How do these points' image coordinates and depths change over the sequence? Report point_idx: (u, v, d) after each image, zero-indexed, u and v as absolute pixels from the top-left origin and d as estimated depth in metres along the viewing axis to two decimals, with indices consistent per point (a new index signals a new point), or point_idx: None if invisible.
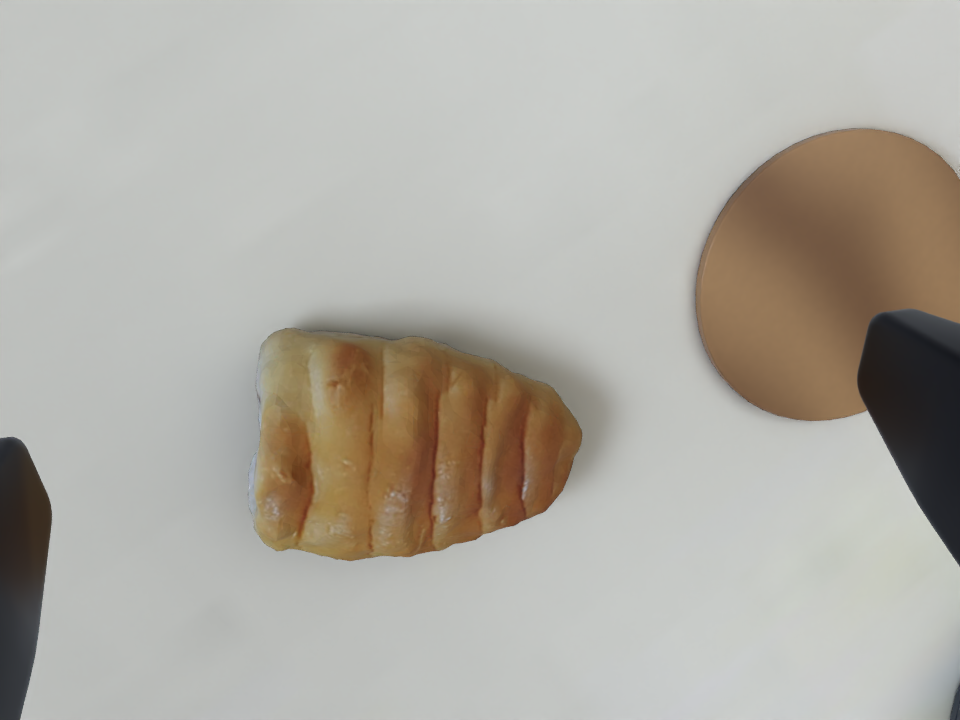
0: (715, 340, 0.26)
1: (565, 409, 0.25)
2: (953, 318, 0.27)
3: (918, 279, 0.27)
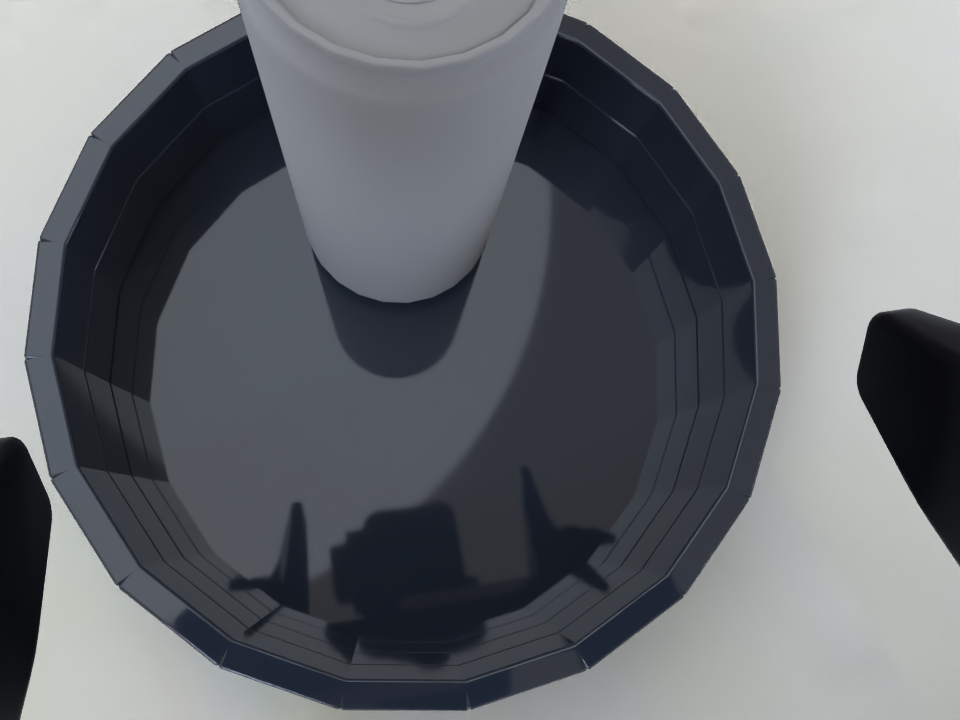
0: None
1: None
2: None
3: None
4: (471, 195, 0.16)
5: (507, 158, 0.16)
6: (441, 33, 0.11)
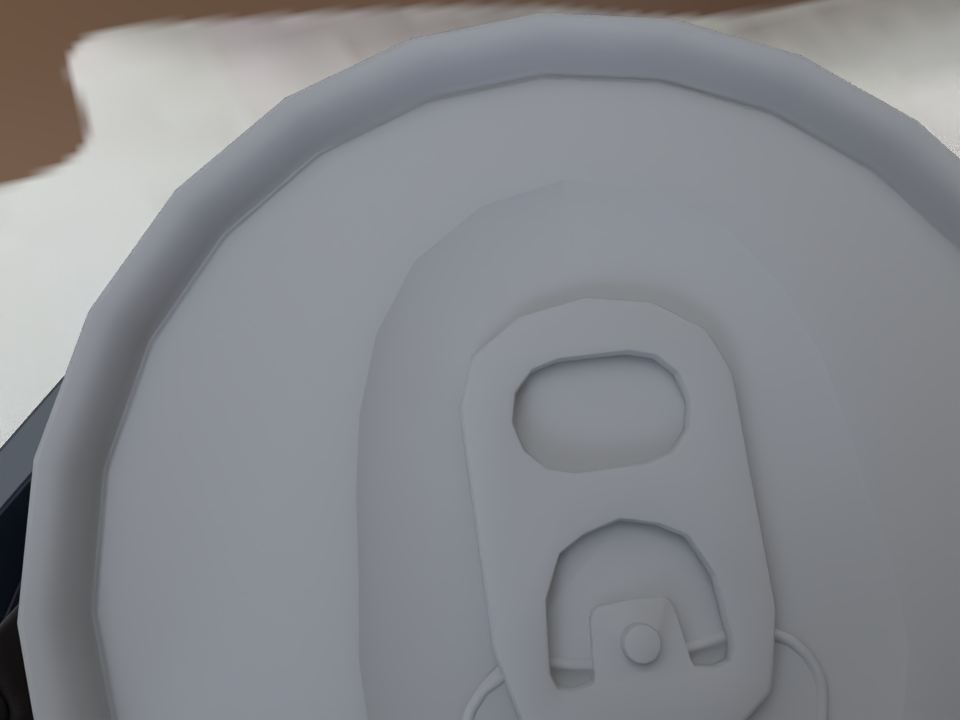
0: None
1: None
2: None
3: None
4: None
5: None
6: None
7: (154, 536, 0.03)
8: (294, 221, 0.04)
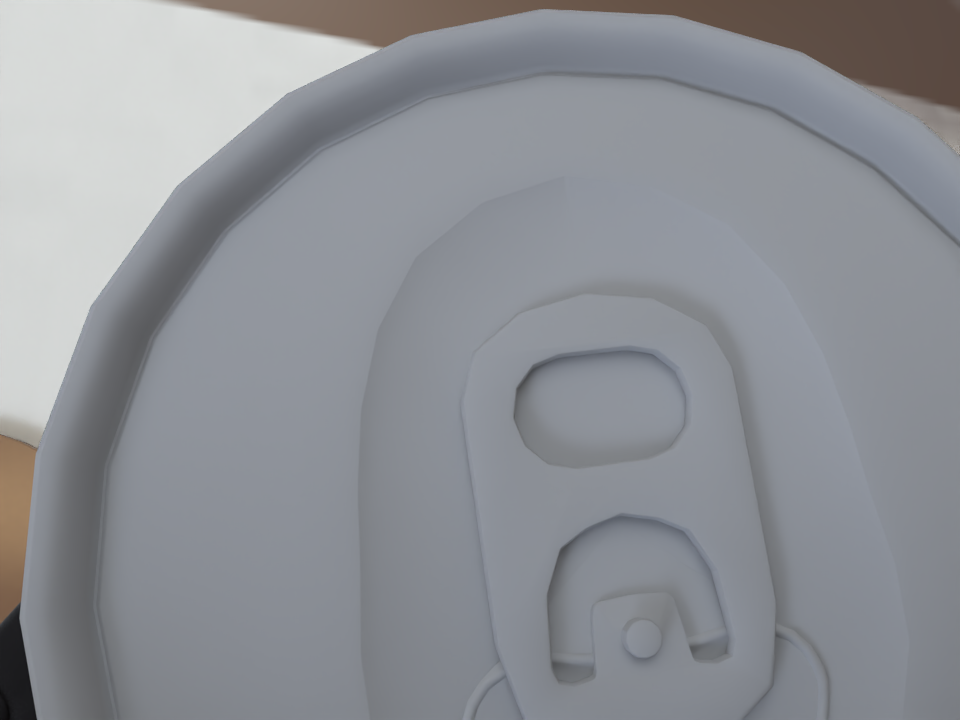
0: None
1: None
2: None
3: (4, 535, 0.21)
4: None
5: None
6: None
7: (156, 531, 0.03)
8: (296, 217, 0.04)
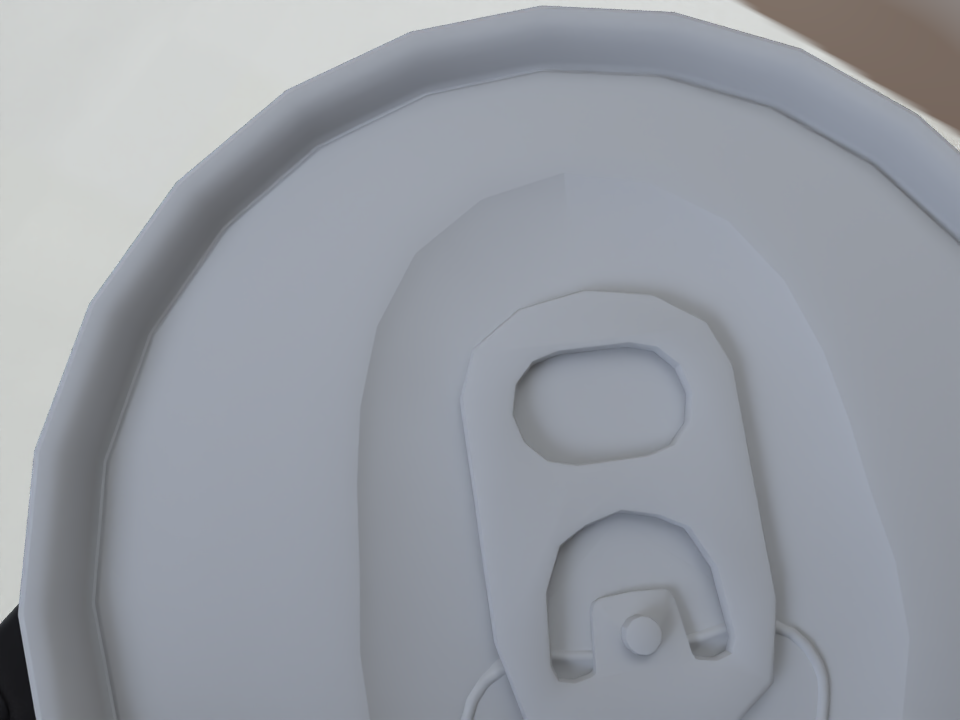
0: None
1: None
2: None
3: None
4: None
5: None
6: None
7: (154, 529, 0.03)
8: (294, 214, 0.04)
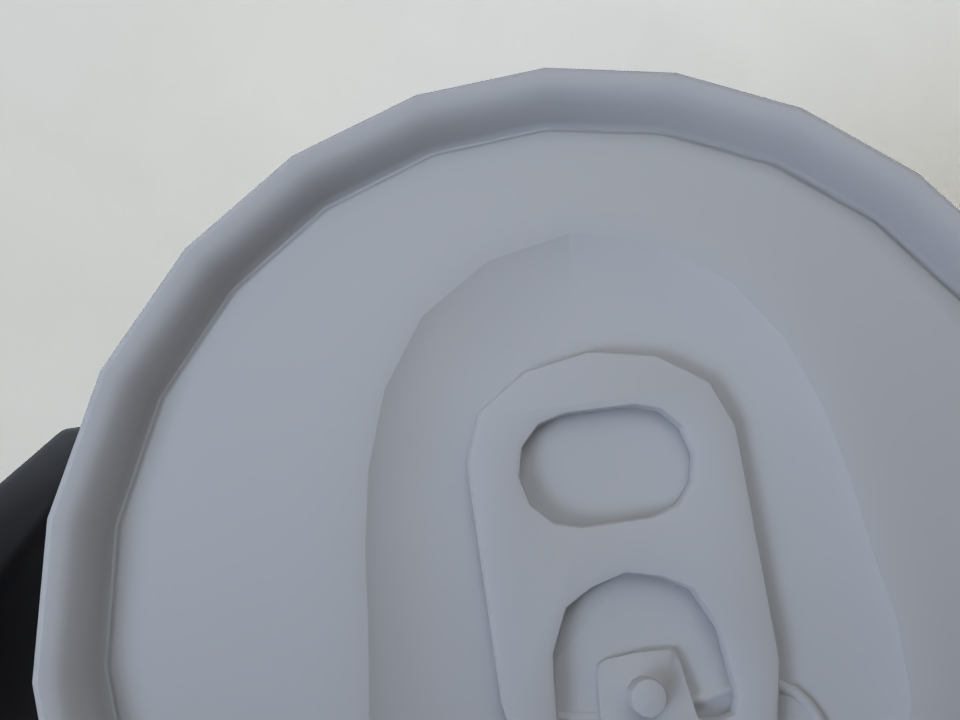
0: None
1: None
2: None
3: None
4: None
5: None
6: None
7: (166, 593, 0.03)
8: (302, 277, 0.04)
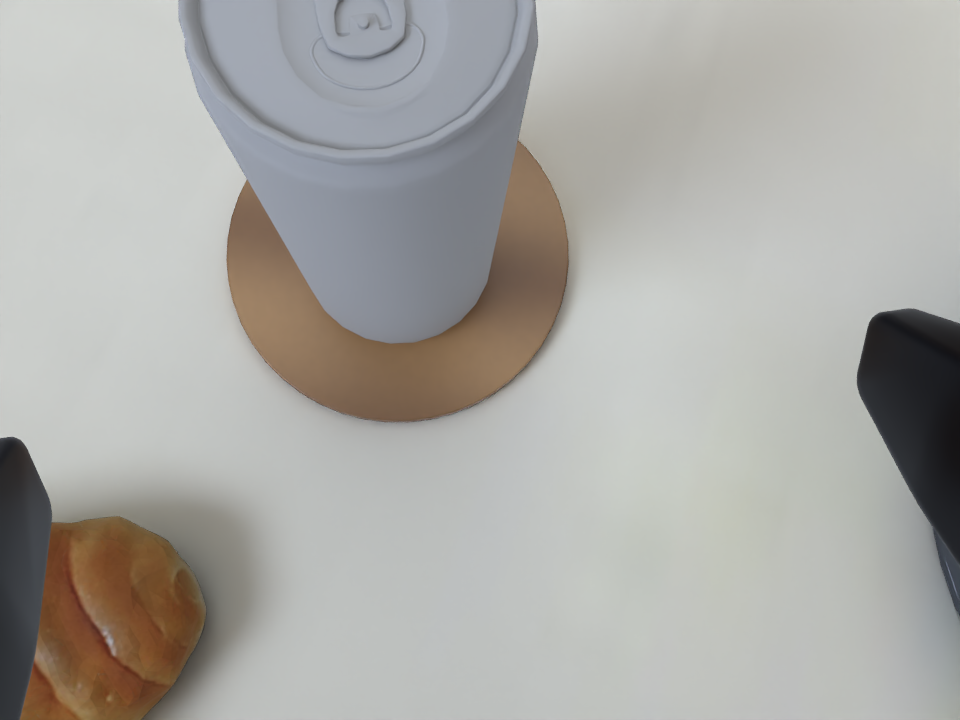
0: (299, 377, 0.22)
1: (133, 529, 0.20)
2: (550, 218, 0.23)
3: None
4: (461, 249, 0.16)
5: (494, 209, 0.15)
6: (405, 117, 0.11)
7: (215, 0, 0.11)
8: None
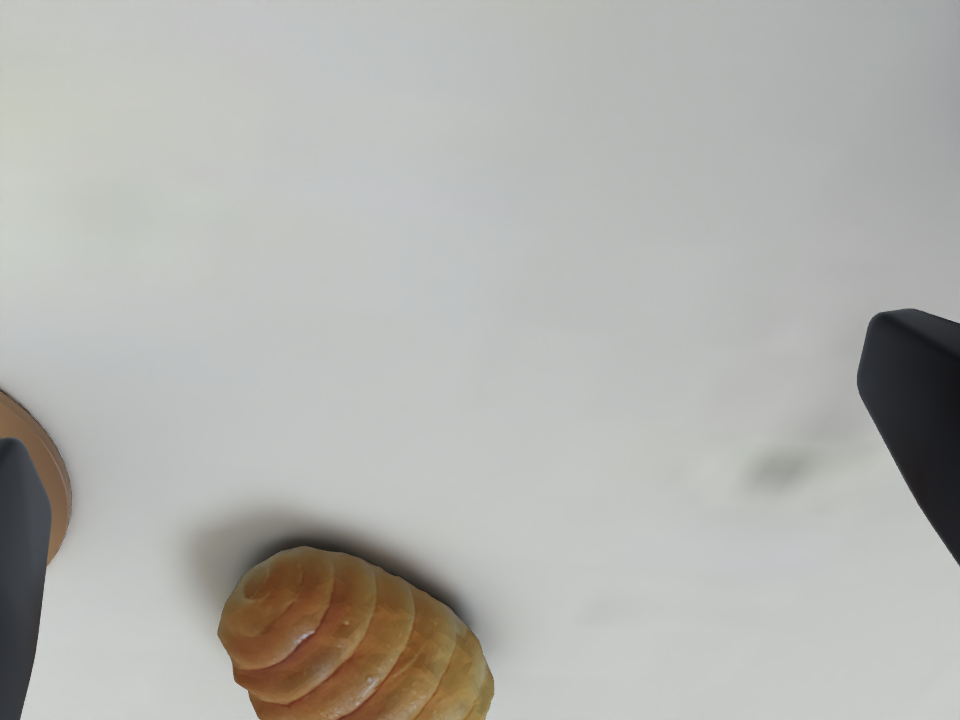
0: (51, 539, 0.24)
1: (221, 629, 0.25)
2: None
3: None
4: None
5: None
6: None
7: None
8: None
